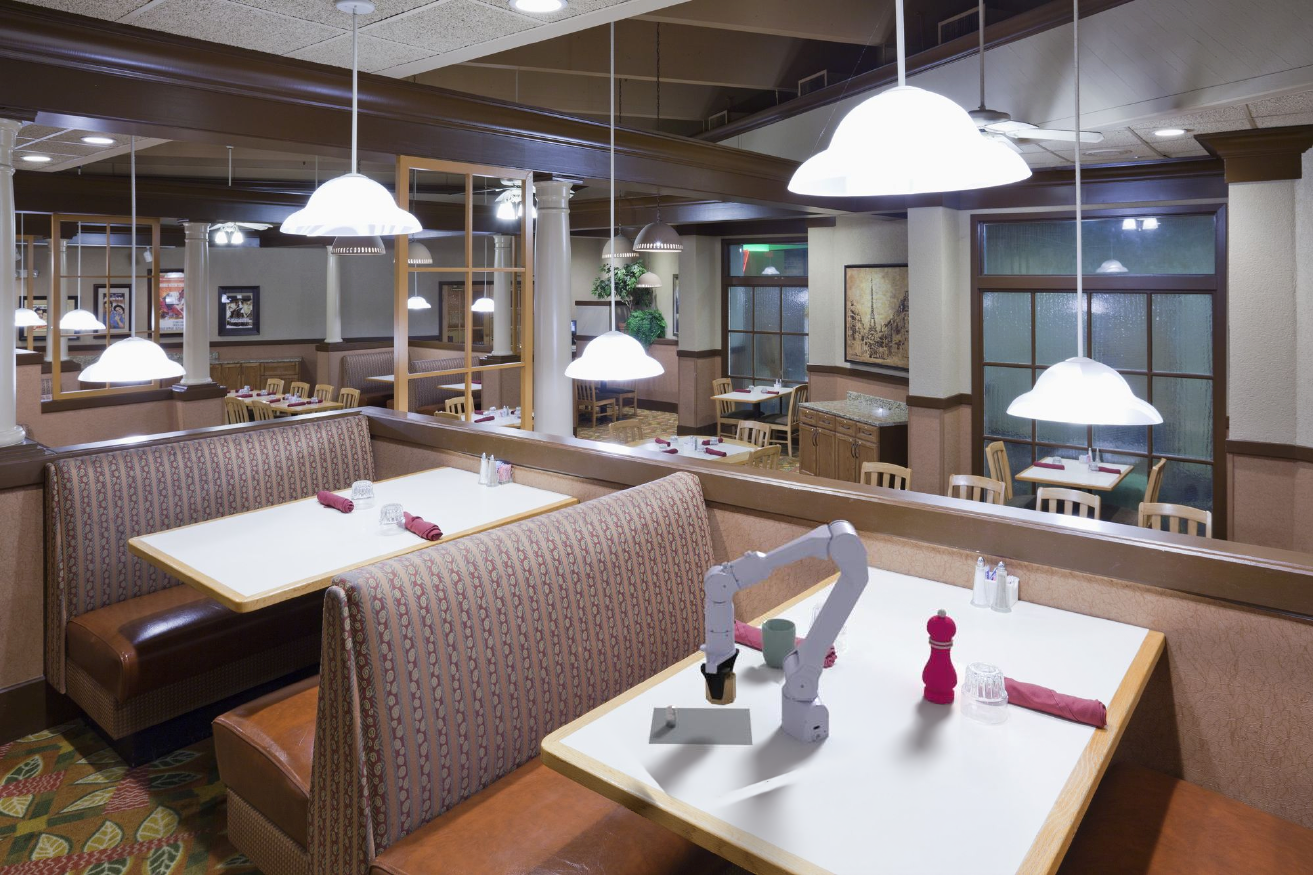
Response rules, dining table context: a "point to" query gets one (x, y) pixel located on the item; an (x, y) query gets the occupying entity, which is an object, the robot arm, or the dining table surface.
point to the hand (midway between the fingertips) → (720, 691)
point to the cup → (777, 641)
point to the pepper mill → (940, 660)
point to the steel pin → (671, 717)
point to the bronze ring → (725, 690)
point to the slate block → (703, 726)
